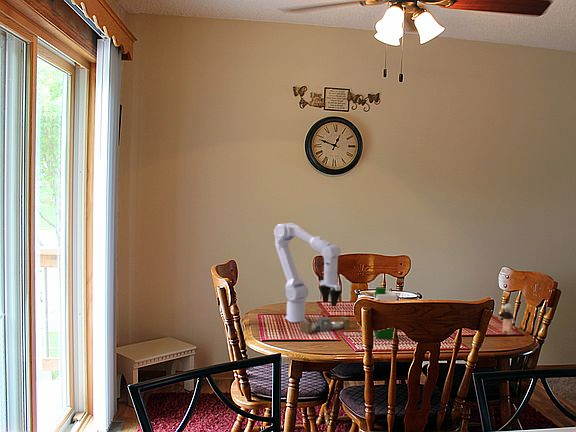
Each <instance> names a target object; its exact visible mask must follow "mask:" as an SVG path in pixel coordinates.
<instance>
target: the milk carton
mask: <svg viewBox="0 0 576 432" xmlns="http://www.w3.org/2000/svg"><path fill="white" fill-rule="evenodd" d="M386 290H387V289H386V288H385V287H383V286H382V287H381V286H380V287H379V286H378V287H375V291H374V294H373V295H374V296H373V298H374V299H373V301H374V300H380V301H397V300H398V297H397V294H396V293H395V292H394V291H386ZM397 302H398V301H397ZM393 332H394V329H385V330H381V331H374V330H373V334H375V335H374V336H375V338H376V339H379V340H380V339H383V340H386V339H387V340H393V339H392V337H393Z"/></svg>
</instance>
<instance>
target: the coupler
mask: <svg viewBox="0 0 576 432" xmlns="http://www.w3.org/2000/svg"><path fill="white" fill-rule="evenodd" d="M330 322H331V318H329V317H328V316H321V317H320V316H319V317H317V323H318V324H319V325H320V329H319V330H318V331H320V332H330V331H331V329H330Z"/></svg>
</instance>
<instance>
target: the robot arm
mask: <svg viewBox="0 0 576 432" xmlns="http://www.w3.org/2000/svg"><path fill="white" fill-rule="evenodd" d="M273 233H274V234H273V235H274V237H275V238H274V239H275V240H274V245H275V248H276V249H275V250H276V253H277V254H278V258H279V261H280V263H281V267H282V270H283V273H284V276H285V279H286V284H285V285H284V287H285V296H286V298H287V299H286V300H287V302H286V316H284V318H285V319H286V320H287V321H289V322H290V323H300V321H307V322H309V321H308V319H307V318H305V317H306V316H305V313H306V310H305V309H306V307H305V306H306V299H307V297H308V295H309V289H308V287H307V286H306V284H305V282H304V281H303V279H301V278H300V277H299V274H298V272H297V268H296V265H295V262H294V259H293V256H292V253H291V250H290V247H289V244H290V242H291V241H292V240H293V239H294V238H295V237H297V238H299V239H300V240H303V241H304V242H306V243H308V244H309V245H310V248H311V249H313V250H315V251H316V252H318V253H320V254H321V255H322V258H323V263H324V264H323V279H322V280H320V285H318V289H319V291H320V295H321V299H322V302H323V303H325V304H326V303H328V302H329V299H330V305H331V307H337V305H338V302H339V298H340V296H341V294H342V293H343V290H342V289H341V285H340V284H338V264H339V263H338V259H339V258H338V257H339V256H340V255H341V248H340V247H339V246H338V245H337V244H335V243H334V244H331V242H330V241H327V240H325V239H323V236H317V235H316V236H313V235H312V234H310V233H308V232H307V231H306V230H304V229H303V228H301V227H300V226H299V225H298V224H295V223H293V222H289V223H279V224H277V225H276V226H275V228H274V230H273Z"/></svg>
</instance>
